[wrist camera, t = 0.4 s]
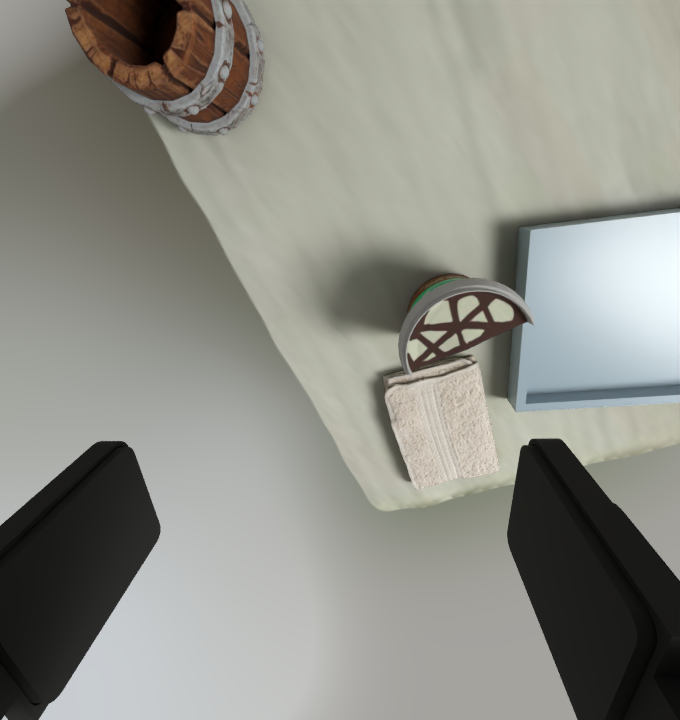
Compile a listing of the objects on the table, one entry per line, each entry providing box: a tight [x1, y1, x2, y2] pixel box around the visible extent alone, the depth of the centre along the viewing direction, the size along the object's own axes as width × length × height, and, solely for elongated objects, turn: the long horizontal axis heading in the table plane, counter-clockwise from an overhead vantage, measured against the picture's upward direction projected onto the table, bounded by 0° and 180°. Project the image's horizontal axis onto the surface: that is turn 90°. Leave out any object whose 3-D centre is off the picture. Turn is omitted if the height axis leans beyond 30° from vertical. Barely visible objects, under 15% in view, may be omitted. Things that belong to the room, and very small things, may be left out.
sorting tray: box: [507, 208, 680, 412], centre depth 38 cm, size 20×22×3 cm
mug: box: [65, 0, 265, 135], centre depth 27 cm, size 12×14×15 cm
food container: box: [398, 274, 535, 377], centre depth 35 cm, size 12×6×10 cm, turn 119°
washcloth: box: [383, 355, 500, 489], centre depth 46 cm, size 12×18×3 cm, turn 20°
